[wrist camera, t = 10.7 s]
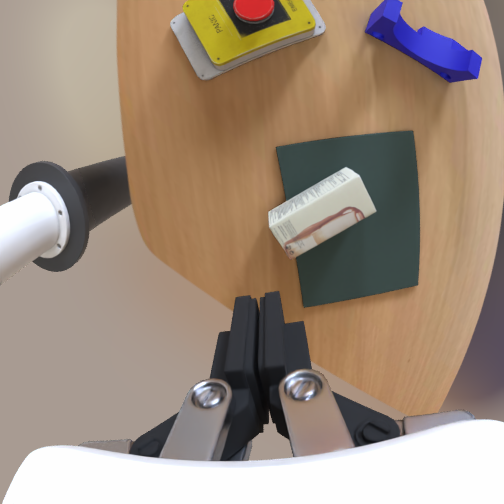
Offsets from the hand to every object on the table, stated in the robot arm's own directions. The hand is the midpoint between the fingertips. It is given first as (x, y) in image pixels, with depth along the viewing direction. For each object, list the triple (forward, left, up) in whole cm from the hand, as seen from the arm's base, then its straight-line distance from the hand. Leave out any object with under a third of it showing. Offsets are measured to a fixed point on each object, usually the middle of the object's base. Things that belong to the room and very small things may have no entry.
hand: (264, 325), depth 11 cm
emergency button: (+2, +20, -23) cm, 31 cm away
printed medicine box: (0, -4, -20) cm, 20 cm away
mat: (+10, -5, -23) cm, 25 cm away
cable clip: (+21, +16, -23) cm, 35 cm away
